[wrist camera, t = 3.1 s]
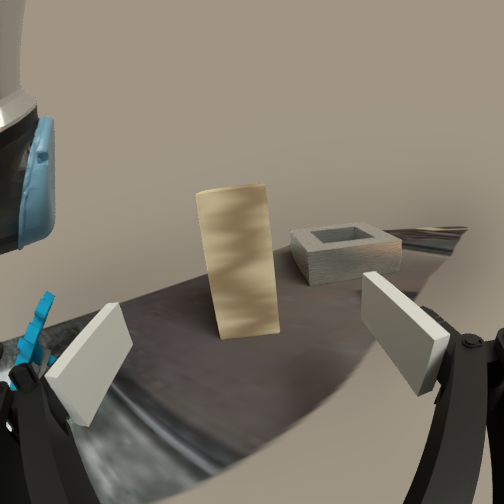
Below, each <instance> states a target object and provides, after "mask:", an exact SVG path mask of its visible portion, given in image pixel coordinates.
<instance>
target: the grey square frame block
mask: <svg viewBox="0 0 504 504" xmlns="http://www.w3.org/2000/svg"><path fill="white" fill-rule="evenodd" d="M290 241H291V254H292V257H293V259H294V260H295V262H296V264H297V265H298V267H299V269H300V270H301V272H302V274H303V276H304V277H305V279H306V281H307V282H308V284H309V286H313V285H320V284H326V283H333V282H339V281H346V280H352V279H358V278H362V277H363V273H367V272H373V271H376V272H377V273H378V274H379V275H381V274H387V273H392V272H398V271H400V265H401V244H402V240H401V239H399V238H396V237H394V236H392V235H390V234H388V233H386V232H384V231H382V230H379V229H377V228H375V227H373V226H371V225H368V224H366V223H364V222H357V223H348V224H338V225H329V226H321V227H311V228H302V229H294V230H290Z"/></svg>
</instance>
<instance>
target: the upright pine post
mask: <svg viewBox="0 0 504 504" xmlns="http://www.w3.org/2000/svg"><path fill="white" fill-rule="evenodd" d="M196 203H197V210H198V216H199V223H200V229H201V235H202V241H203V248H204V253H205V260H206V265H207V271H208V277H209V282H210V288H211V293H212V298H213V303H214V309H215V314H216V319H217V324H218V329H219V333H220V338H221V339H230V338H240V337H249V336H257V335H266V334H273V333H280V329H279V317H278V306H277V295H276V284H275V273H274V263H273V253H272V243H271V233H270V224H269V215H268V206H267V196H266V187H265V185H263V184H261V183H258V184H250V185H240V186H233V187H225V188H218V189H211V190H204V191H202V192H200V193H198V194H196Z"/></svg>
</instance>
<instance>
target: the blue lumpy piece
mask: <svg viewBox="0 0 504 504" xmlns="http://www.w3.org/2000/svg"><path fill="white" fill-rule="evenodd" d="M54 297H55V296H54V295H53V294H51V293H49V292H48V291H46V292H45V294H44V296H43V299H42V298H41V300H40V302H39V304H38V306H37V308H36V311H35V317H34V319H33V322H32V323H31V322H30V323H29V325H28V328H27V331H26V333H25V336H24V339H23V338H22V337H20V340H19V342H18V345H17V349H19V350H20V353H19V354H18V356H17V359H16V363H15V366H16V365H18V364H20V363H30V364H32V362H34V363H36V364H38V365H39V366H41V367H40V371H39V374H38V378H39V379H40V378H41V376H42V375H43V374H44V373H45V370H46V367H47V366H49V367H50V365H51V364H53V362H54V361H55V359H57V358H56V357H54V356H53V355H51V354H50V353H51V350H49V349H47V348H45V347H44V346H42V345H40V344H39V341H38V340H39V337H40V334H41V331H42V328H43V326H44V323H45V321H46V318H47V316H48V312H49V310H50V307H51V305H52V303H53V299H54ZM10 389H11V390H17V389H16V388H15V386H14V384H13V383H12V382H11V385H10ZM67 419H68V417H67ZM67 419H66V420H67Z"/></svg>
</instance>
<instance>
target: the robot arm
mask: <svg viewBox="0 0 504 504" xmlns="http://www.w3.org/2000/svg"><path fill="white" fill-rule="evenodd" d="M25 2H26V0H0V255H1V254H4V253H7V252H10V251H13V250H16V249H19V250H21V249H22V248H23V247H24V246H26V245H29V244H31V243H34V242H36V241H39V240H42V239H44V238H46V237H47V236H48V235H49V234H50V233H51V231H52V230H53V227H54V224H55V156H54V155H55V152H54V151H55V149H54V147H55V141H54V140H55V136H54V120H53V118H52V117H46V116H42V117H41V118H38V115H37V103H36V98H35V97H33V96H32V95H30V94H29V93H27V92H26V91H24V90H23V89H22V88H21V85H20V45H21V32H22V23H23V15H24V8H25ZM361 320H362V321H363V322H364V324H365V325H366V326H367V328H368V329H369V330H370V332H371V333H372V334H373V336H374V337H375V338H376V340H377V341H378V342H379V344H380V345H381V346H382V348H383V349H384V350H385V352H386V353H387V355H388V356H389V357H390V358H391V360H392V361H393V363H394V364H395V366H396V367H397V368H398V370H399V371H400V373H401V374H402V375H403V377H404V378H405V380H406V381H407V382H408V384H409V385H410V387H411V388H412V389H413V391H414V392H415V394H416V395H417V396H421V395H423V394H425V393H428V392H430V391H432V390H433V388H434V385H435V382H436V380H438V382H439V383H440V384H441V387H440V390H439V392H438V394H437V397H436V399H435V402H434V404H436V407H435V412H434V416H433V420H432V424H431V428H430V431H429V435H428V438H427V442H426V445H425V448H424V451H423V454H422V457H421V460H420V463H419V466H418V468H417V471H416V474H415V477H414V479H413V481H412V484H411V486H410V489H409V491H408V493H407V496H406V498H405V500H404V502H403V504H472V501H473V497H474V494H475V490H476V486H477V481H478V477H479V472H480V467H481V461H482V455H483V448H484V440H485V431H486V426H487V432H488V438H489V446H490V454H491V466H492V482H493V483H492V484H493V504H504V328H502V329H500V330H499V331H498V333H497V336H496V339H495V340H492V341H485V342H484V340H483V339H482V338H481V337H479V336H477V335H474V334H462V335H461V334H460V333H459V332H458V331H456V330H455V329H454V328H453V327H452V326H450V325H449V324H448V323H447V322H446V321H444V320H443V319H442V318H441V317H439V315H438V314H436V313H435V312H434V311H433V310H431V309H428V308H426V307H424V306H422V307H418V306H417V305H416V304H415V303H414V302H413V301H411V300H410V299H409V298H408V297H407V296H405V295H404V294H403V293H402V292H400V291H399V290H398V289H397V288H396V287H394V286H393V285H392V284H391V283H389V282H388V281H387V280H386V279H384V278H383V277H382V276H381V275H379V274H378V273H377V272H376V271H373V272H367V273H363V277H362V304H361ZM132 345H133V343H132V340H131V338H130V335H129V332H128V329H127V326H126V324H125V321H124V318H123V315H122V312H121V308H120V305H119V303H107V304H106V305H105V307H103V308H102V309H101V311H100V312H99V313H98V314H97V315H96V316H95V317H94V318H93V319H92V320H91V322H90V323H89V324H88V325H87V326H86V327H85V328H84V329H83V330H82V332H81V333H80V334H79V335H78V336H77V337H76V338H75V340H74V341H73V342H72V343H71V344H70V345H69V347H68V348H67V349H65V350H64V351H62V352H61V353H60V355H59V356H58V357H57V359H55V361H54V362H53V364H51V365H50V367H49V368H48V369H47V370H46V371H45V373H44V374H43V375H42V376H41V378H40V379H39V378H38V376H37V374H36V372H35V371H34V369H33V367H32V365H31V364H30V363H20V364H18V365H16V366H15V367H14V368H12V369H11V371H10V372H9V375H8V376H9V378H10V379H11V381H12V383H13V384H14V386H15V388H16V389H17V390H11V389H10V387H9V385H8V384H7V382H5V381H1V382H0V504H100V502H99V500H98V498H97V496H96V494H95V492H94V489H93V487H92V485H91V483H90V481H89V478H88V476H87V473H86V471H85V469H84V466H83V463H82V461H81V458H80V455H79V453H78V450H77V447H76V444H75V441H74V438H73V435H72V432H71V428H70V425H69V424H68V422H67V421H66V419H67V417H68V416H70V417H71V419H72V420H73V421H74V423H75V424H77V425H82V426H87V427H89V425H90V423H91V421H92V419H93V417H94V415H95V414H96V412H97V410H98V408H99V406H100V404H101V402H102V400H103V398H104V396H105V394H106V392H107V390H108V389H109V387H110V385H111V383H112V381H113V379H114V377H115V376H116V374H117V372H118V370H119V368H120V366H121V365H122V363H123V361H124V359H125V358H126V356H127V354H128V352H129V350H130V349H131V347H132ZM1 353H2V345H1V343H0V357H1ZM6 422H8V424H9V425H10V426H11V427H12V432H10V431H9V430H8V428H7V427H6Z"/></svg>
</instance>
